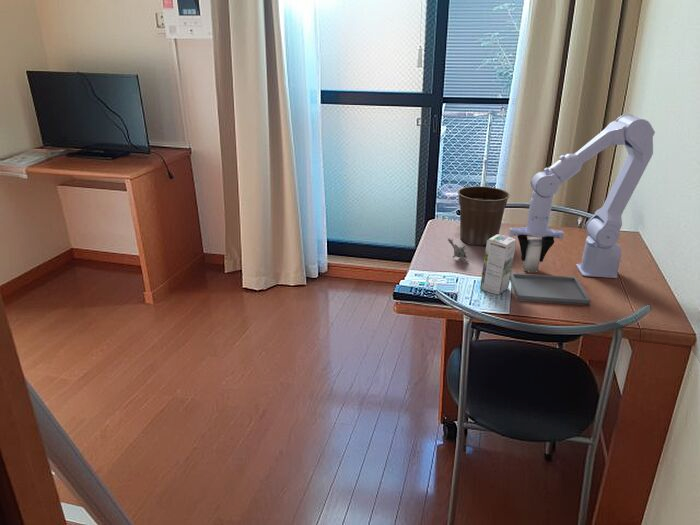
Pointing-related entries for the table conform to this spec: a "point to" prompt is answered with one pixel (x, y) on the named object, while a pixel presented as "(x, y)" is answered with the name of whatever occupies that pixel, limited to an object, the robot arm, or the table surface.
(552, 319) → the table surface
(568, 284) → the tray
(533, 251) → the block
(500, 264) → the syrup box
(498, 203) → the plant pot
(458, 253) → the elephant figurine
